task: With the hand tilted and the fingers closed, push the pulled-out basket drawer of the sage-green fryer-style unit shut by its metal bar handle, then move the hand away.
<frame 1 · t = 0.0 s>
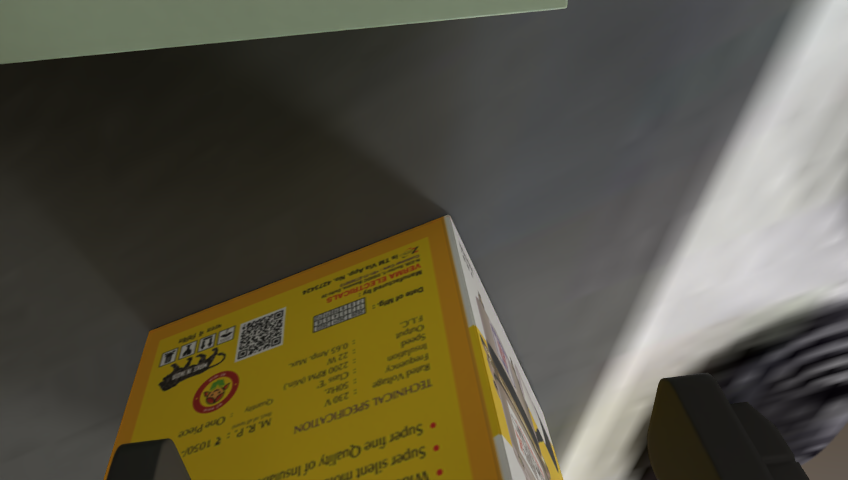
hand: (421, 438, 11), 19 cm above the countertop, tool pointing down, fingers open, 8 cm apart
packaging box: (364, 372, 38), on the countertop
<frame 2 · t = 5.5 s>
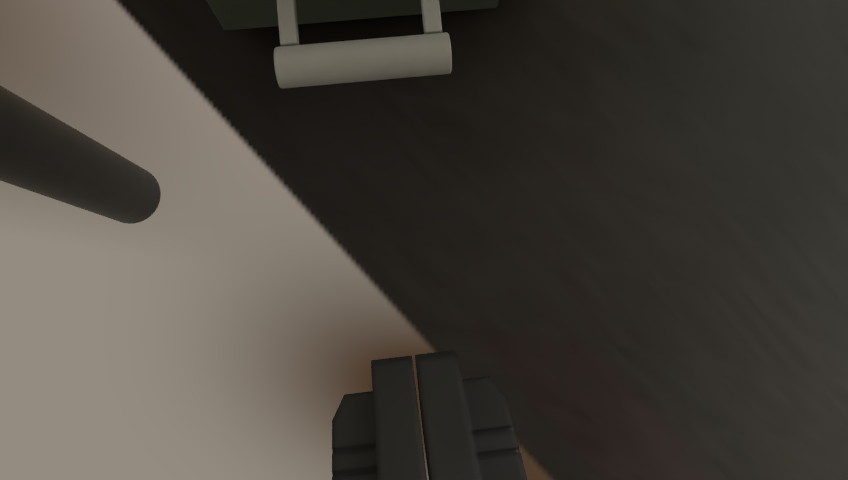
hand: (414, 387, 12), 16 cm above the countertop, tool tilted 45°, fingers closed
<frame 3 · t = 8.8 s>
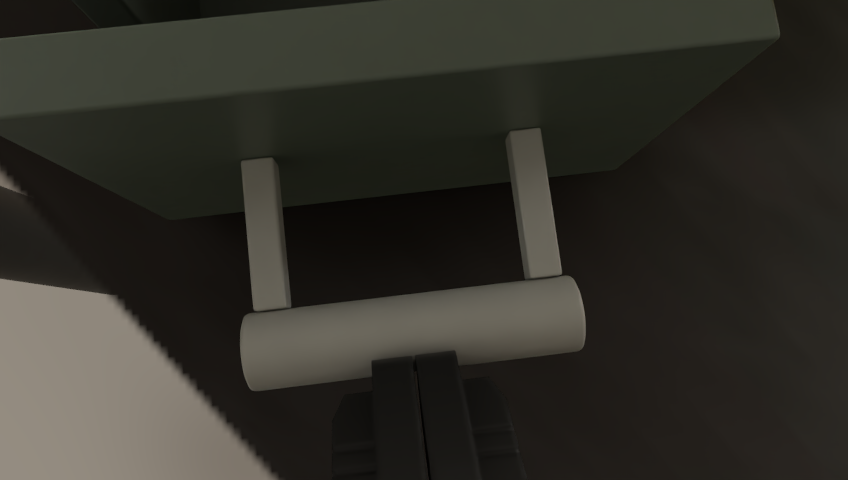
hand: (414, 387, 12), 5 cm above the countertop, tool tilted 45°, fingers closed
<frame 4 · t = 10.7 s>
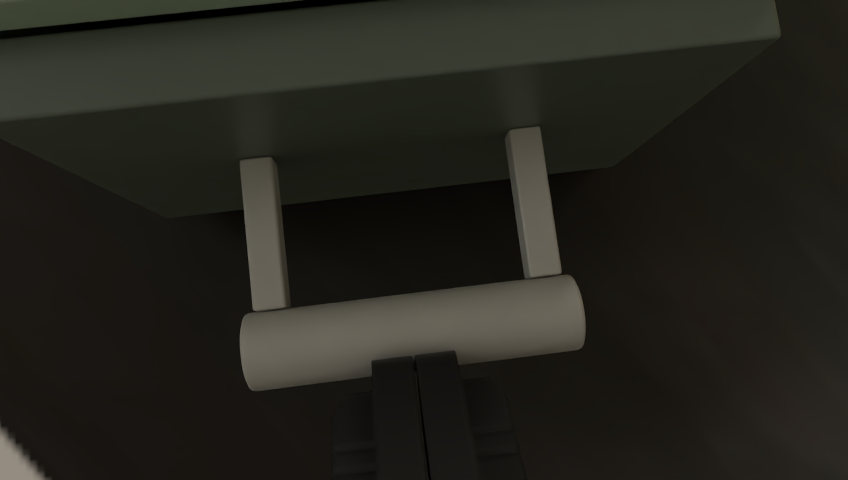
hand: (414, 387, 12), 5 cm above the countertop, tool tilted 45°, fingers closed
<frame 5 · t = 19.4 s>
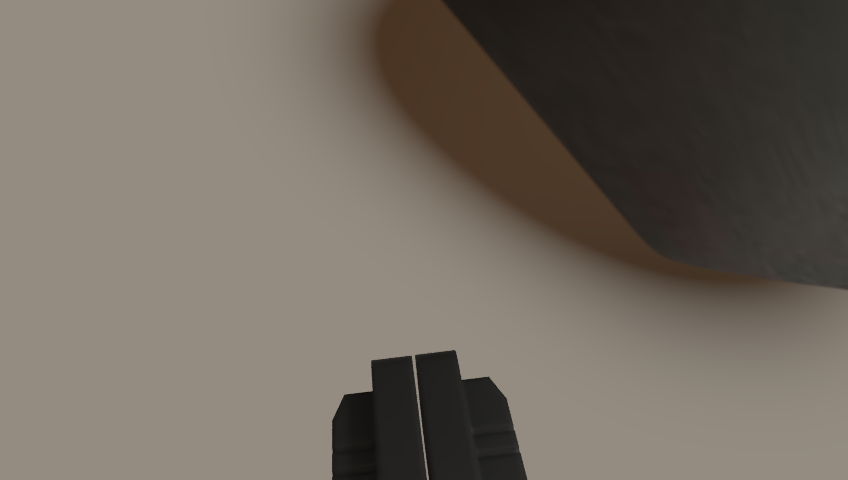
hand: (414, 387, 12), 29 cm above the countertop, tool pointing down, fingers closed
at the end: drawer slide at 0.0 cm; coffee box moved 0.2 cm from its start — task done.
